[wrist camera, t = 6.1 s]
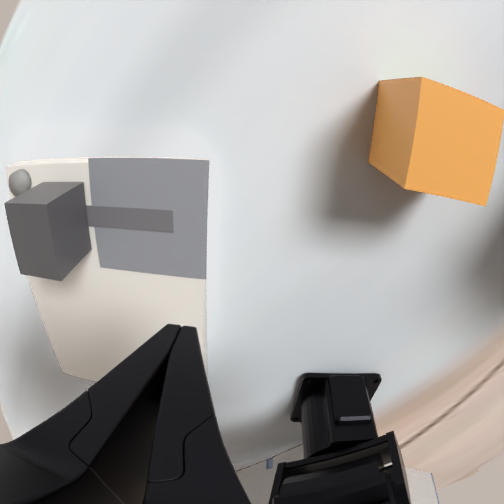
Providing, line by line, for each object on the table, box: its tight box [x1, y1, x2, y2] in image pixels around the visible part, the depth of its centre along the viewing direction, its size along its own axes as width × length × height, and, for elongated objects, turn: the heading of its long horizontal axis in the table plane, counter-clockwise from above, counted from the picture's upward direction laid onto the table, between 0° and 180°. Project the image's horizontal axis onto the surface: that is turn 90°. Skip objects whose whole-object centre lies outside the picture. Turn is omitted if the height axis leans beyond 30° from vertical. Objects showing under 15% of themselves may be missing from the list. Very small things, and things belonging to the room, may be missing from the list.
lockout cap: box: [368, 77, 504, 206], centre depth 12 cm, size 4×4×5 cm
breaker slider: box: [5, 182, 92, 281], centre depth 14 cm, size 4×3×4 cm
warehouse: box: [236, 444, 439, 504], centre depth 31 cm, size 30×14×8 cm, turn 50°
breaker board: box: [6, 157, 209, 382], centre depth 19 cm, size 18×13×2 cm
